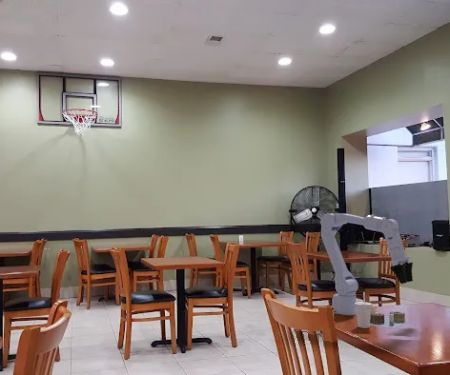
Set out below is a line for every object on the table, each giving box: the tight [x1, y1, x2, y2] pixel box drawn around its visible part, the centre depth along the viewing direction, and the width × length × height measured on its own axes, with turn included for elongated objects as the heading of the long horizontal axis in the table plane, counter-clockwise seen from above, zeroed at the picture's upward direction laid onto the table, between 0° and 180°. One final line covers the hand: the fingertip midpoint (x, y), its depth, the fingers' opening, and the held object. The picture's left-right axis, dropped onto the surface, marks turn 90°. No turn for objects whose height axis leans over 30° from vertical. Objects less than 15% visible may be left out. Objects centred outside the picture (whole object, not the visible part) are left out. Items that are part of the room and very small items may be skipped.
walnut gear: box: [370, 312, 385, 324], centre depth 185 cm, size 5×5×3 cm
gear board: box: [370, 312, 410, 329], centre depth 186 cm, size 12×18×5 cm, turn 142°
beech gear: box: [389, 311, 406, 322], centre depth 188 cm, size 5×5×3 cm
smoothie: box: [354, 291, 373, 329], centre depth 178 cm, size 6×6×14 cm
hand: (406, 282), depth 187 cm, fingers open, 7 cm apart
